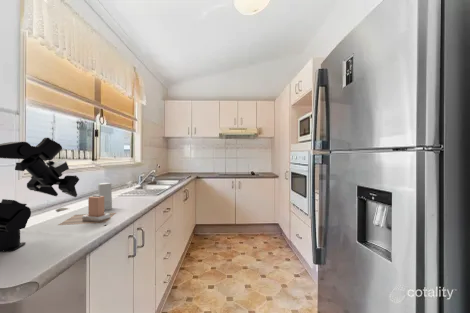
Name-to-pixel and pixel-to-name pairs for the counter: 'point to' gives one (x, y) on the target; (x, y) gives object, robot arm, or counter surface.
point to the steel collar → (95, 218)
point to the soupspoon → (61, 209)
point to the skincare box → (105, 194)
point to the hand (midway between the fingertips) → (66, 195)
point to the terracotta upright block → (96, 205)
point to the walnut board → (78, 220)
